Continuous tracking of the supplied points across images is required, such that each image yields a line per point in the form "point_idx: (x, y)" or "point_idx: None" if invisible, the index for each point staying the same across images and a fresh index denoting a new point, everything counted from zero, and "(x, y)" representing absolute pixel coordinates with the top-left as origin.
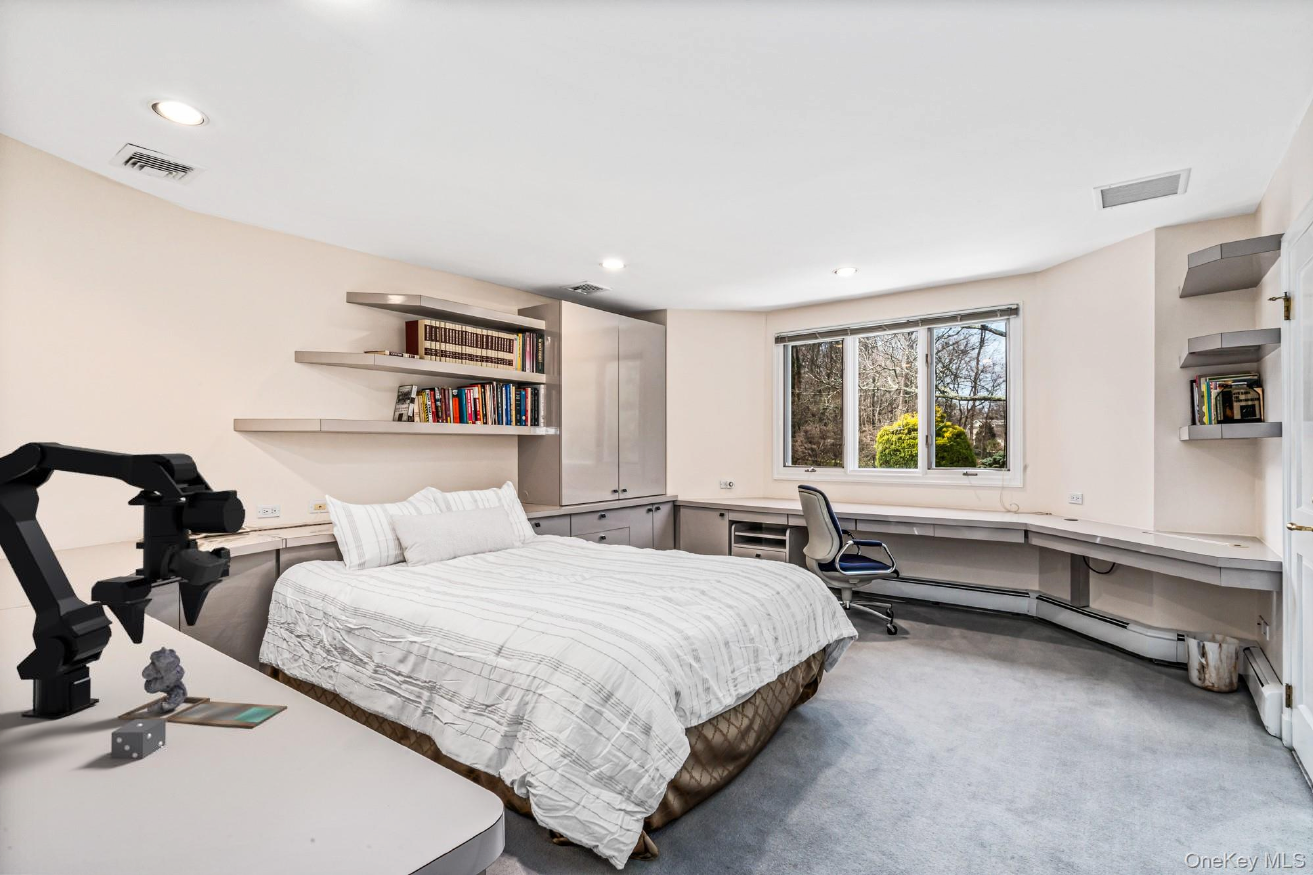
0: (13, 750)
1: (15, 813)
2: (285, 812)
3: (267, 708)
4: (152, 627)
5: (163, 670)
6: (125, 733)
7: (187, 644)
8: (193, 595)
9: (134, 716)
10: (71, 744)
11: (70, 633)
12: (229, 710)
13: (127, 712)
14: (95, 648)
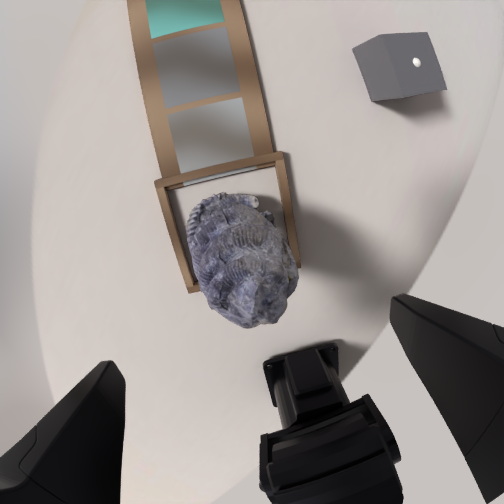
0: (410, 286)
1: (494, 95)
2: None
3: (147, 9)
4: None
5: (274, 231)
6: (437, 63)
7: None
8: (68, 498)
9: (291, 235)
10: (388, 229)
11: (390, 461)
12: (182, 71)
13: None
14: (310, 438)
